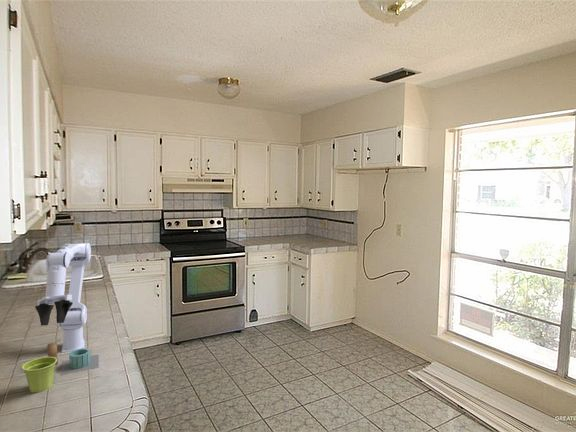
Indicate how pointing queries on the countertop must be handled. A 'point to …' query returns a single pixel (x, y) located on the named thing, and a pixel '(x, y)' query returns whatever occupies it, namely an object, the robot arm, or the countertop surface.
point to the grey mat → (68, 370)
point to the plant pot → (40, 373)
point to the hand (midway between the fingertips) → (52, 324)
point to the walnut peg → (52, 351)
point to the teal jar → (80, 358)
